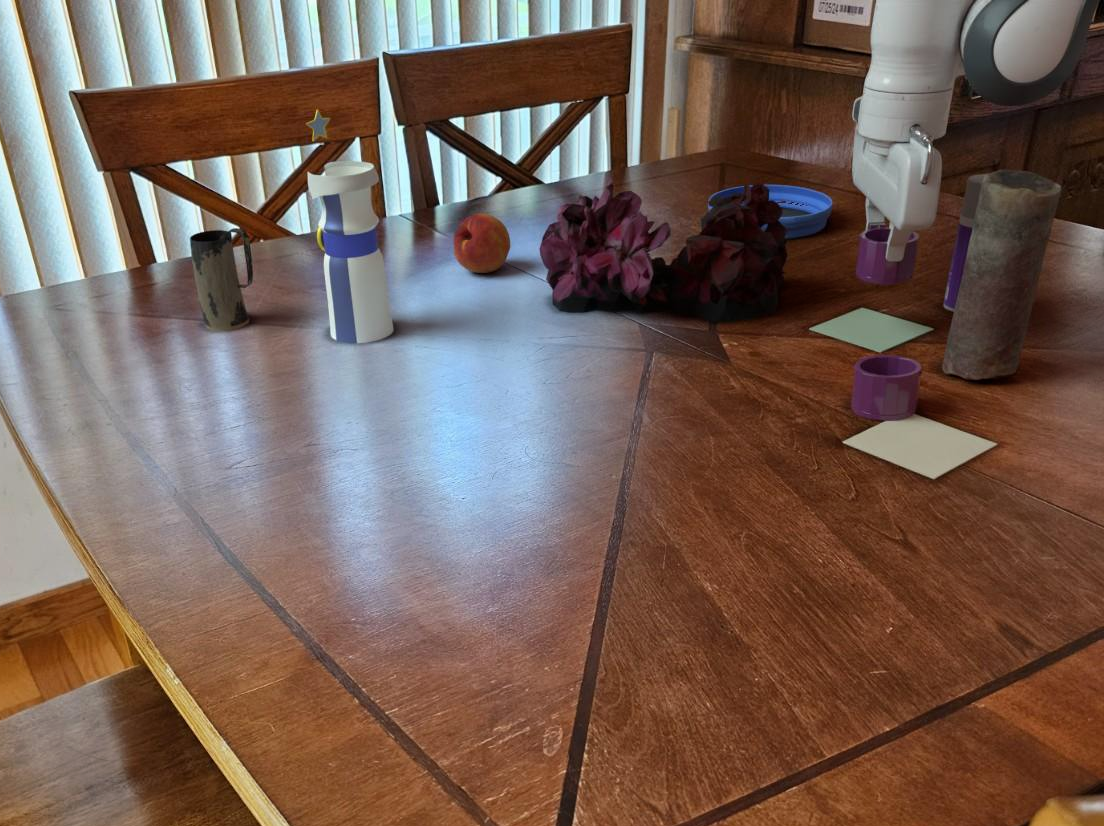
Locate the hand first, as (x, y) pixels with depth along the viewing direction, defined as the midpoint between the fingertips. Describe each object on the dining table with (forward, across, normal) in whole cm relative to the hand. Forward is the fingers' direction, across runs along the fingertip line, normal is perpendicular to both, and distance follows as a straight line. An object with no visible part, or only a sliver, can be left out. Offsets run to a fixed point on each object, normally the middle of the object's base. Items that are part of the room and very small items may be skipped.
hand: (883, 248), depth 122 cm
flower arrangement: (+10, +12, +23) cm, 28 cm away
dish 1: (+3, 0, -1) cm, 3 cm away
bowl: (+10, +44, +4) cm, 46 cm away
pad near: (+10, -30, +3) cm, 31 cm away
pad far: (+10, 0, 0) cm, 10 cm away
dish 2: (+9, -22, +4) cm, 24 cm away
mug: (+10, +10, +77) cm, 78 cm away
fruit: (+10, +27, +46) cm, 54 cm away
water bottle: (+10, +5, +60) cm, 62 cm away
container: (+10, +6, -13) cm, 17 cm away
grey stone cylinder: (+10, -13, -8) cm, 18 cm away
